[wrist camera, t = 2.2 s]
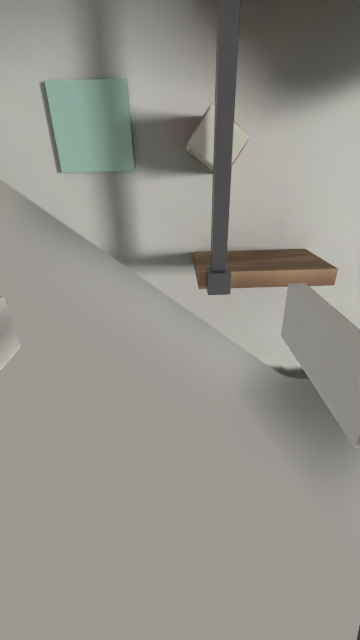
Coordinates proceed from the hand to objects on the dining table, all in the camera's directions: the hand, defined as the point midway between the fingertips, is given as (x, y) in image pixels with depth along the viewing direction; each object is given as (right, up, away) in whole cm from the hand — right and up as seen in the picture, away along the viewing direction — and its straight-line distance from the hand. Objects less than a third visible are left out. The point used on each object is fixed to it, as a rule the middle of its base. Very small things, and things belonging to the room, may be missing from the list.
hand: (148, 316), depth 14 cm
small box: (+5, +21, +22) cm, 31 cm away
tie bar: (+5, +17, +13) cm, 22 cm away
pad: (-9, +22, +21) cm, 32 cm away
